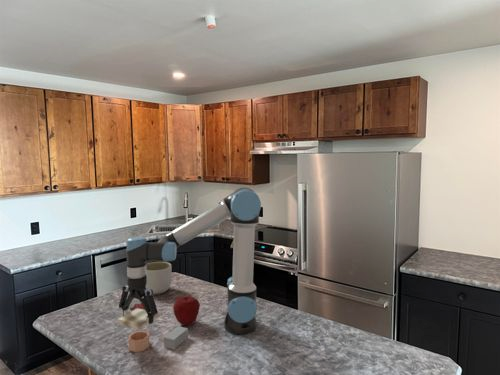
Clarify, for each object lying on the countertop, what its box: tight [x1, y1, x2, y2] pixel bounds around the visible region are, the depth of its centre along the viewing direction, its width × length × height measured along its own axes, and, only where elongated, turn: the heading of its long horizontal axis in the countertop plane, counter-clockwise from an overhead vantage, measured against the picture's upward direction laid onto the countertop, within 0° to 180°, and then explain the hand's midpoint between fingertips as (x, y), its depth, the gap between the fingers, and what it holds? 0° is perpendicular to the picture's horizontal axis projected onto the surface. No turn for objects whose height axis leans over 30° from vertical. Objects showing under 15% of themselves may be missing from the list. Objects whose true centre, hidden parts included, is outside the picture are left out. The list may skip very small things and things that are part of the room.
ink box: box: [127, 292, 144, 309], centre depth 177 cm, size 9×5×12 cm, turn 80°
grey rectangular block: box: [163, 326, 189, 350], centre depth 142 cm, size 5×10×4 cm, turn 156°
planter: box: [146, 261, 172, 295], centre depth 197 cm, size 17×17×15 cm
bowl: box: [128, 330, 151, 353], centre depth 139 cm, size 8×8×4 cm
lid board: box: [117, 308, 159, 330], centre depth 138 cm, size 11×11×2 cm
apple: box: [172, 295, 201, 327], centre depth 158 cm, size 12×12×13 cm
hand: (138, 327), depth 139 cm, fingers closed on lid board, 11 cm apart
